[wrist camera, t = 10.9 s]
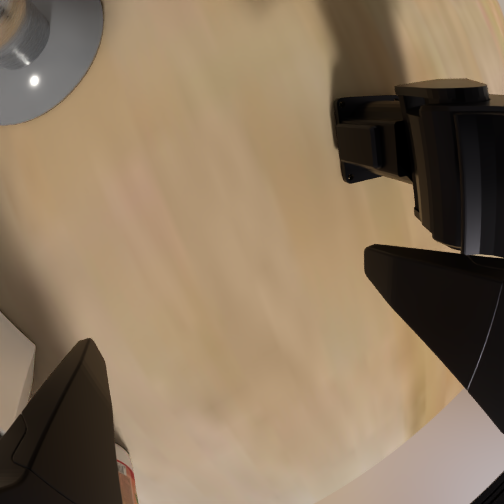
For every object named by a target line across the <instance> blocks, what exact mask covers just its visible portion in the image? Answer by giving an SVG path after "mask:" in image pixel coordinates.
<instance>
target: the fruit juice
mask: <svg viewBox="0 0 504 504" xmlns="http://www.w3.org/2000/svg"><path fill="white" fill-rule="evenodd" d="M115 448H116V458H117V466H118V474H119V481H120V488H121V495H122V501H123V504H138V499H137V492H136V486H135V479H134V471H133V465H132V461H131V458H130V456H129V455H128V453H127V452H126V451H125V450H124V449H123V448H122V447H121V446H119V445H118V444H116V443H115Z"/></svg>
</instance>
